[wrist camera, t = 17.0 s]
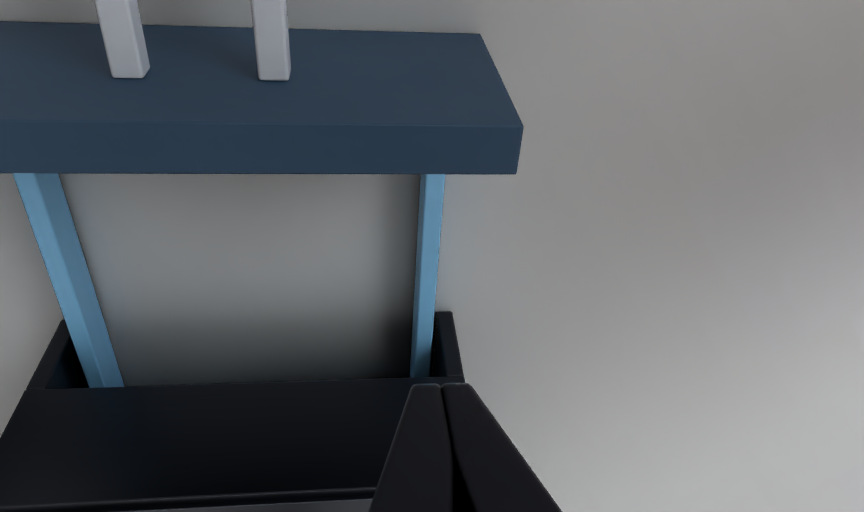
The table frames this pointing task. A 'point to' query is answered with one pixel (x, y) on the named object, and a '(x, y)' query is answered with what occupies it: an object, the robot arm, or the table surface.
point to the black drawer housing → (203, 440)
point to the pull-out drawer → (240, 125)
